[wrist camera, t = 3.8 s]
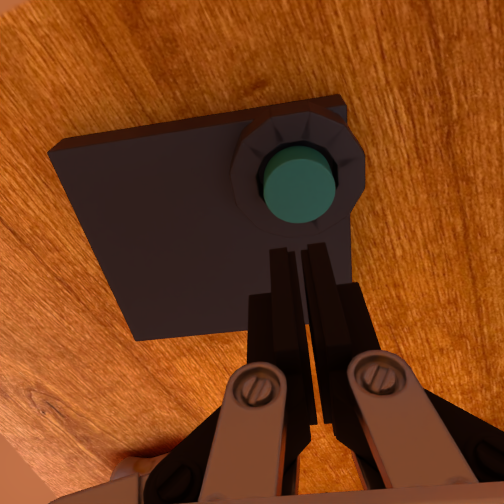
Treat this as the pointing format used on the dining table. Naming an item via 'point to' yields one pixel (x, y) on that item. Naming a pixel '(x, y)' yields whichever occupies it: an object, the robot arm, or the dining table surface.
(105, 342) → the dining table surface
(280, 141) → the scale
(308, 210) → the button
